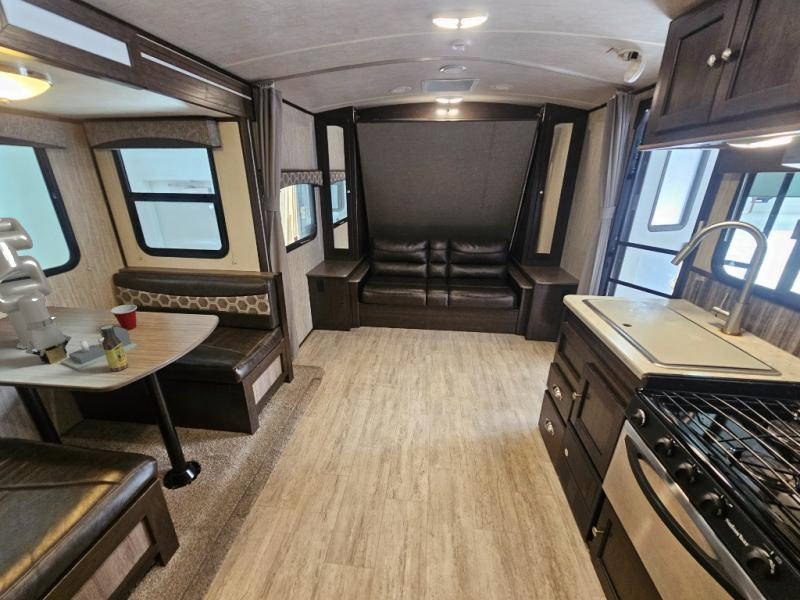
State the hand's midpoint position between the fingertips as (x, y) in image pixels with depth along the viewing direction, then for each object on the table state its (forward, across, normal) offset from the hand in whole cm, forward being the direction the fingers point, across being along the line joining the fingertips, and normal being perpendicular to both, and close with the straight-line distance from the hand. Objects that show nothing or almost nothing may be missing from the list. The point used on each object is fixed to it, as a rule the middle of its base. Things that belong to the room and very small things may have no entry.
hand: (55, 358), depth 147 cm
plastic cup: (+1, -33, -4) cm, 33 cm away
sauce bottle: (+1, -8, +33) cm, 34 cm away
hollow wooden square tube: (0, 0, 0) cm, 0 cm away
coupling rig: (0, -11, +13) cm, 17 cm away
